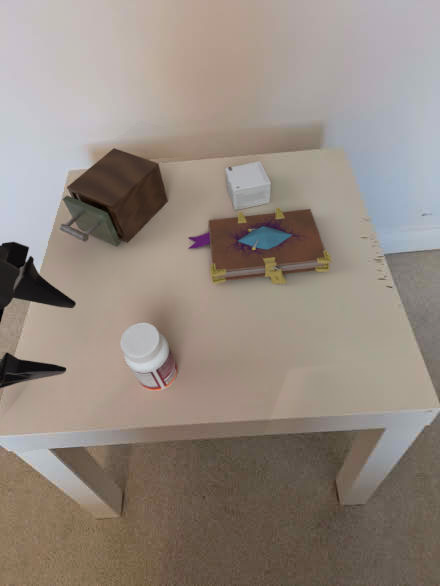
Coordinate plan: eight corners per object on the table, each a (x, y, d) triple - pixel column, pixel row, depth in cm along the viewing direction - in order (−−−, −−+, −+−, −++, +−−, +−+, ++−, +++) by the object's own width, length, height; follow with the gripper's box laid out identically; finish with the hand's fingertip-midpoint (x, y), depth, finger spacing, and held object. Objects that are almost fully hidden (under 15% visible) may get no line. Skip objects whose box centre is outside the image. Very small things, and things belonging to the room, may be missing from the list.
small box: (270, 203, 77) (271, 183, 73) (234, 211, 76) (232, 191, 72) (260, 180, 81) (260, 160, 77) (225, 187, 81) (224, 167, 77)
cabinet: (127, 243, 73) (112, 206, 66) (85, 224, 78) (66, 187, 70) (168, 201, 80) (158, 163, 72) (126, 185, 84) (113, 147, 76)
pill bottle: (172, 349, 59) (156, 312, 50) (183, 383, 56) (169, 350, 47) (134, 362, 58) (112, 327, 49) (143, 398, 55) (121, 367, 46)
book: (187, 233, 75) (183, 214, 71) (309, 219, 74) (312, 199, 71) (189, 297, 65) (185, 278, 61) (331, 281, 64) (335, 262, 60)
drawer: (101, 262, 70) (85, 233, 63) (62, 243, 74) (44, 213, 67) (155, 206, 78) (146, 176, 71) (118, 192, 81) (106, 161, 75)
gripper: (-117, 350, 27) (90, 385, 36) (-40, 185, 38) (105, 243, 47) (-129, 400, 34) (48, 419, 42) (-61, 247, 44) (70, 288, 53)
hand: (70, 336), depth 46 cm, fingers open, 9 cm apart
